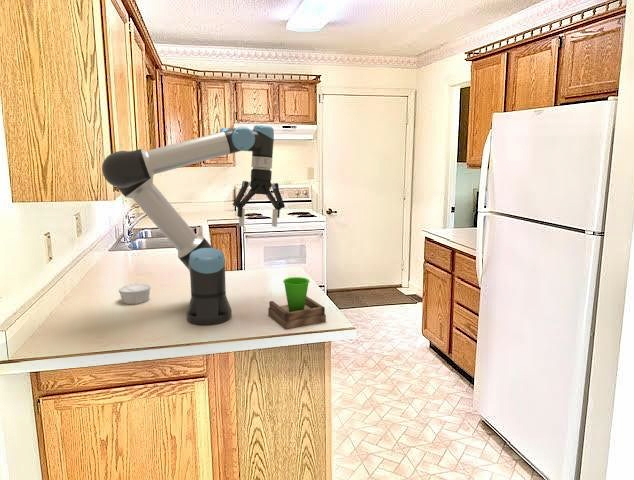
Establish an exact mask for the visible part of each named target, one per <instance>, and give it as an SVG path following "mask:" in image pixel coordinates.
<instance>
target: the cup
mask: <svg viewBox="0 0 634 480" xmlns="http://www.w3.org/2000/svg"><path fill="white" fill-rule="evenodd" d="M282 282H283V284H284V289H285V296H286V301H287V305H288V308H289V312H293V311H299V310H304V307H305V301H306V296H307V293H308V287H309V283H310V282H311V281H310V279H308V278H306V277H303V276H302V277H301V276H299V277H297V276H294V277H287V278H284V279H283V281H282Z"/></svg>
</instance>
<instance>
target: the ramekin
mask: <svg viewBox="0 0 634 480" xmlns="http://www.w3.org/2000/svg"><path fill="white" fill-rule="evenodd" d="M118 292H119V294H120V299H121V301H122V303H123V304H126V305H137V304H138V305H139V304H141V303H145V302H147V301H149V298H150V292H151V285H150V284H148V283H147V284H146V283H132V284H127V285H123V286H121V287H120V288H119V289H118Z"/></svg>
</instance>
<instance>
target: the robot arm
mask: <svg viewBox="0 0 634 480" xmlns="http://www.w3.org/2000/svg"><path fill="white" fill-rule="evenodd" d="M274 141H275V131H274V128H273V126H269V125H258V124H257V125H254V126H253V129H250V128H248V127H246V126H243V125H242V126H238V127H236V128H234V127H233V128H232V127H221V128H220V130H219V132H216V133H212V134H208V135H204V136H201V137H197V138H192V139H188V140H185V141H181V142H177V143H173V144H169V145H164V146H161V147H157V148H152V149H149V150H145V149H144V148H139V149H136V150H128V151H127V150H118V151H115V152H112V153H110V154H109V155H107V157H105V159H104V160H103V162H102V165H101V168H102V169H101V171H102V176H103V177H104V179H105V180H106V182H107V183H108V184H110V185H111V186H113V187H116V189H117V190H118V191H119V192H120V193H121V194H122V195H123V196H124V197H125V198H127V199H132V200H133V201H134V202H135V203H136V204H137V205H138V207H139V208H140V209H141V210H142V211H143V213H145V215H146V216H147V217H148V218H149V219H150V220H151V221H152V223H153V224H154V225H155V226H156V227H157V228H158V229H159V231H161V232H160V233H162V234H163V236H165V238H167V240H168V241H169V243H171V244H172V246H173V247H174V248H175V249H176V250H177V258H178V259H179V260H180V262H182V263H183V265H184V266H185V267H186V268H187V270H188V272H189V277H190V295H191V296H190V300H189V304H188V308H187V311H186V320H187V321H188V323H191V324H193V325H201V326H210V325H217V324H218V325H219V324H221V323H222V324H223V323H224V322H227V321H229V320H230V319H231V318H232V308H231V306H230V302H229V300H228V297H227V293H226V292H227V291H226V288H227V287H226V257H225V254H224V252H223V251H222V250H221V249H217V248H215V247H213V246H212V245H211V244H210V242H208V240H207V239H206V238H205V237H204V236H199V235H197V234H196V233H195V231H194V230H193V228H191V227H190V225H189V224H188V223H187V222H186V220H184V218H183V217H182V215H180V214H179V213H178V212H177V210H176V209H175V208H174V206H173V205H172V204H171V203H170V201H168V199H167V198H166V197H165V195H164V194H162V192H161V191H160V189H158V187H157V186H156V185H155V184H154V175H156V174H161V173H165V172H167V171H171V170H176V169H178V168H182V167H183V168H184V167H187V166H190V165H193V164H197V163H201V162H205V161H208V160H213V159H216V158H219V157H223V156H227V155H230V154H231V155H232V154H234V153H238V152H251V153H252V154H251V165H250V166H251V170H250V181H247V180H246V181H245V180H243V181H242V183H241V187H240V190H239V191H238V192H237V195H236V197H235V199H234V200H233V203H232V206H233V207H236V208H237V217H238V226H239V227H245V215H246V214H245V213H246V212H245V211H246V208H245V206H246V204H247V203H248V202H249V201H250V200H251V199H252V198H253V197H254V196H255V195H265V196H266V197H267V199H268V200H269V202H270V203H271V204H272V206H273V208H272V214H271V215H272V216H271V217H272V218H271V226H272V227H275V228H277V227H278V219H279V218H280V214H281V212H280V211H281V210H282V209H284V208H286V206H285V203H284V200H283V197H282V194H281V192H280V187H279V183H277V182H271V181H272V173H273V172H272V170H271V169H273V152H274ZM248 188H250V189H249V190H248ZM270 189H272V191H273V193H272V192H271V190H270ZM247 190H248V191H247ZM246 192H247V194H246ZM245 194H246V195H245ZM273 194H274V195H273ZM244 195H245V196H244Z"/></svg>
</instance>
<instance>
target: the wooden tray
mask: <svg viewBox="0 0 634 480" xmlns="http://www.w3.org/2000/svg"><path fill="white" fill-rule="evenodd" d="M268 303H269V304H268V305H269V307H268V309H267V311H268V312H267V314H268V315H267V316H270V318H272V319H273V320H274V321H275V322H276V323H278V324H279V325H280V326H281V327H282V328H283V329H285V330H288V329H294V328H298V327H303V326H304V327H305V326H310V325H315V324H320V323H326V322H327V314H326V311H325V306H323V305H321V304H320V303H318V302H316V301H315V300H314V299H312V298H311V297H309V296H307V295H306V301H305V307H304V310H299V311H293V312H289V308H288V304H286V305H279V304H277V303H276V302H275V301H273V300H270V301H269V302H268Z"/></svg>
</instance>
